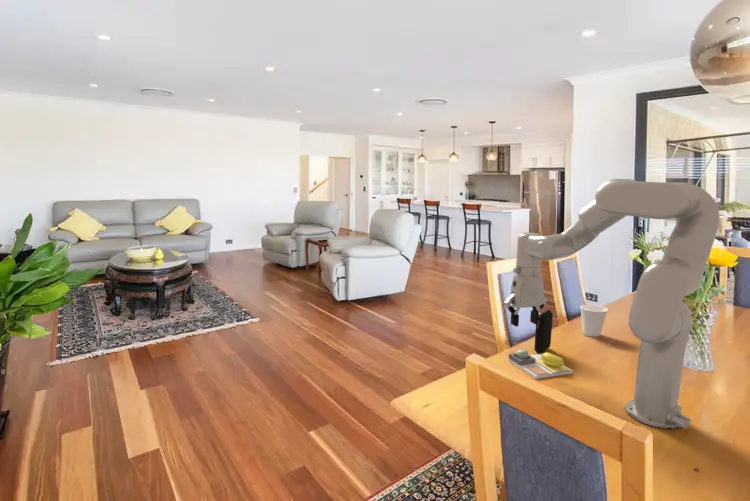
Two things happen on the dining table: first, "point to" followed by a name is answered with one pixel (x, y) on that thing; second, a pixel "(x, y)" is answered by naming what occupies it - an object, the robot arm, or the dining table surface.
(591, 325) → the cup
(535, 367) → the picture board
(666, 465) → the dining table surface
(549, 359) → the lemon
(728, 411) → the dining table surface
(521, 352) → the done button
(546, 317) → the carrying case or bag
